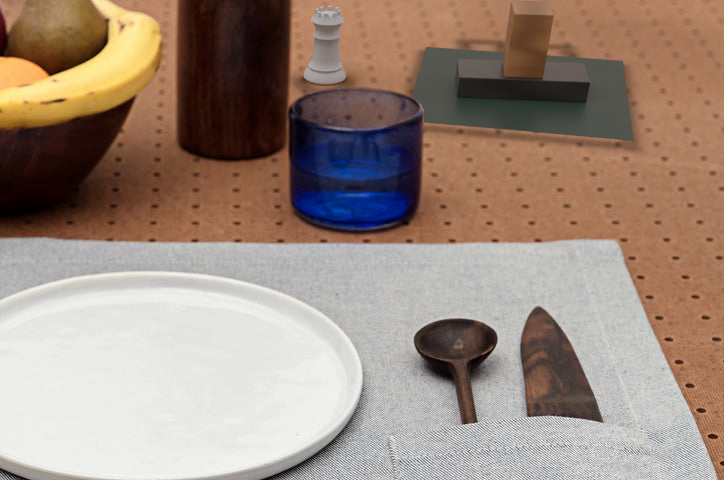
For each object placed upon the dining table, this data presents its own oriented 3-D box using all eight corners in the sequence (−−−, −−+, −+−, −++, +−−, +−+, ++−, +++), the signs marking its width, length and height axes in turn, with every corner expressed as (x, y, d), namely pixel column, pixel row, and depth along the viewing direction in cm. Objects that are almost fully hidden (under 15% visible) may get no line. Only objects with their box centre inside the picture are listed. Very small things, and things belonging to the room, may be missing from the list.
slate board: (620, 71, 111) (623, 60, 110) (630, 152, 95) (633, 140, 94) (424, 57, 115) (425, 46, 115) (403, 132, 100) (404, 120, 99)
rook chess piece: (335, 77, 111) (339, 0, 106) (353, 93, 107) (359, 13, 103) (295, 83, 110) (297, 5, 105) (312, 99, 106) (316, 19, 102)
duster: (579, 82, 105) (595, 1, 101) (586, 102, 101) (603, 18, 97) (455, 78, 107) (465, -3, 102) (456, 97, 103) (467, 14, 98)
